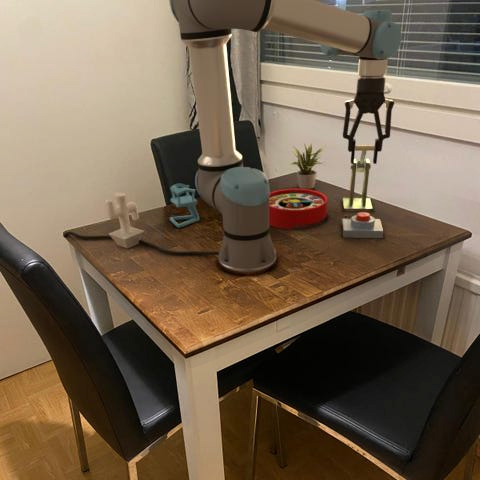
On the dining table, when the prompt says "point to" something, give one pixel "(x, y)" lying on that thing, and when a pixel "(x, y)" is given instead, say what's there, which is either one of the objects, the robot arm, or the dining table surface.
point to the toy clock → (296, 207)
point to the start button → (363, 216)
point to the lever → (363, 155)
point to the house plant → (307, 167)
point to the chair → (184, 204)
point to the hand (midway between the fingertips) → (363, 162)
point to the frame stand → (362, 202)
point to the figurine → (124, 221)
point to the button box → (362, 228)
